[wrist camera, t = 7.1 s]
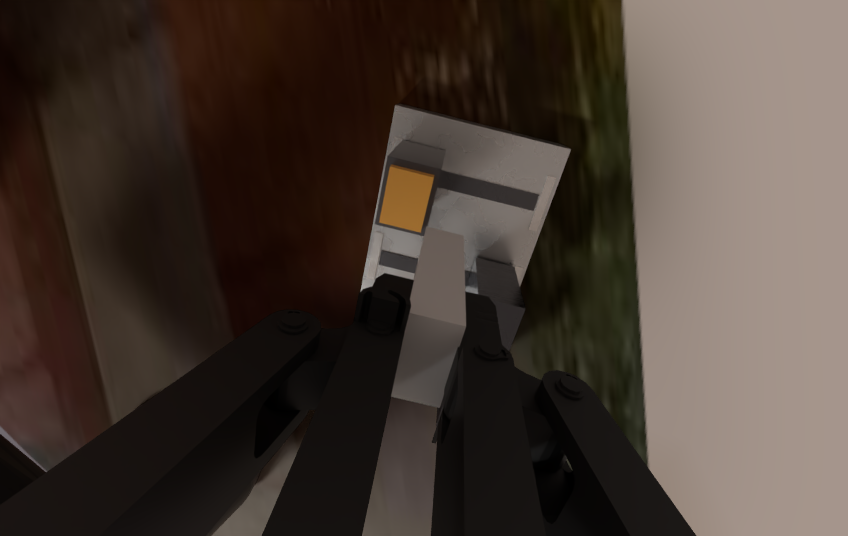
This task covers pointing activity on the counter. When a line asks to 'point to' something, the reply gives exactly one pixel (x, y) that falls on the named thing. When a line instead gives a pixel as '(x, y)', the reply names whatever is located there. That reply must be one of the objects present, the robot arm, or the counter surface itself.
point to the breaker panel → (476, 206)
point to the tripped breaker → (409, 187)
